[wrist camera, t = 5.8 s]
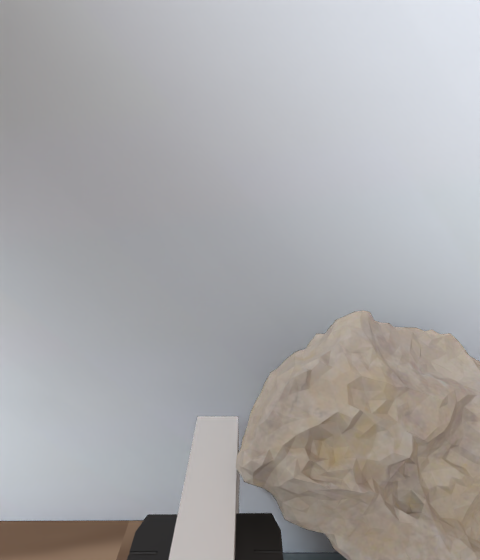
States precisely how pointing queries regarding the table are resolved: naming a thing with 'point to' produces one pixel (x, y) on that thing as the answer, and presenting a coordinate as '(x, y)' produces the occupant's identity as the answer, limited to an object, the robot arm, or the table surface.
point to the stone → (373, 441)
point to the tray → (313, 556)
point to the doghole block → (66, 540)
